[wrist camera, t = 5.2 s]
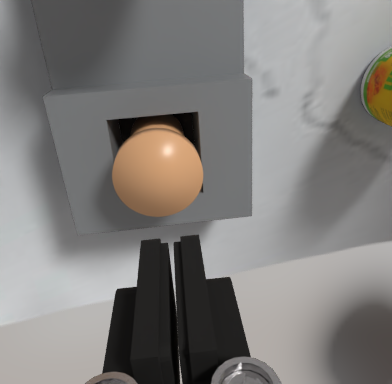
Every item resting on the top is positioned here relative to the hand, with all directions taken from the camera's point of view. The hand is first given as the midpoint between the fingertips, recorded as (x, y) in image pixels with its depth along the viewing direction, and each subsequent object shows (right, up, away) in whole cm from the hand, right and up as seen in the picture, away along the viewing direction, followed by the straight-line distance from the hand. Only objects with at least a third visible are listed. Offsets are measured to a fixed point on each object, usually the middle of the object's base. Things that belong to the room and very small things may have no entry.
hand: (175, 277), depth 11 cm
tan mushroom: (-2, +6, +14) cm, 15 cm away
